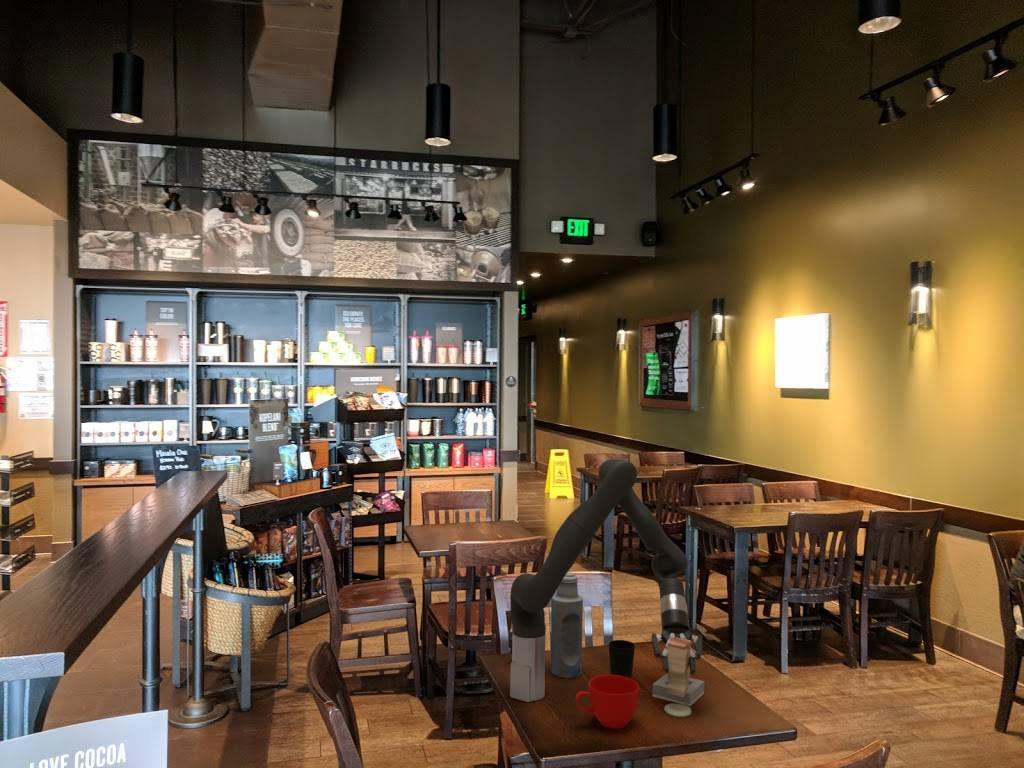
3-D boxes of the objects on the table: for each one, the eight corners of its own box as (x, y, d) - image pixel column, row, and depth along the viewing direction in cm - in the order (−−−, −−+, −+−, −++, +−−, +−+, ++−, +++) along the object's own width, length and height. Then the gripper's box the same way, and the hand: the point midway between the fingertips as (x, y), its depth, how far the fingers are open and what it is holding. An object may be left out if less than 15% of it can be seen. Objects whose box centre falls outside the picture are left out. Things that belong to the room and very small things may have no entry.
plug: (683, 697, 197) (684, 646, 196) (666, 692, 199) (667, 642, 198) (689, 690, 201) (690, 640, 200) (672, 685, 204) (673, 636, 203)
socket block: (690, 706, 203) (690, 693, 203) (652, 696, 209) (652, 684, 209) (704, 693, 212) (704, 681, 212) (667, 683, 218) (668, 672, 218)
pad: (685, 719, 194) (685, 716, 194) (660, 712, 198) (660, 710, 198) (695, 710, 200) (695, 707, 200) (670, 703, 204) (670, 701, 204)
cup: (633, 692, 212) (634, 649, 212) (606, 689, 213) (607, 647, 213) (634, 681, 219) (635, 641, 219) (608, 679, 221) (609, 638, 221)
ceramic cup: (566, 716, 195) (567, 678, 195) (625, 710, 199) (626, 672, 200) (584, 739, 182) (585, 698, 182) (647, 731, 187) (648, 691, 187)
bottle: (555, 679, 219) (557, 578, 220) (546, 667, 229) (548, 570, 229) (586, 677, 222) (588, 576, 222) (575, 665, 231) (577, 568, 232)
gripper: (649, 606, 208) (653, 665, 196) (701, 608, 206) (709, 667, 195) (647, 620, 213) (651, 677, 201) (698, 621, 212) (705, 679, 200)
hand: (679, 672), depth 198 cm, fingers closed on plug, 6 cm apart
